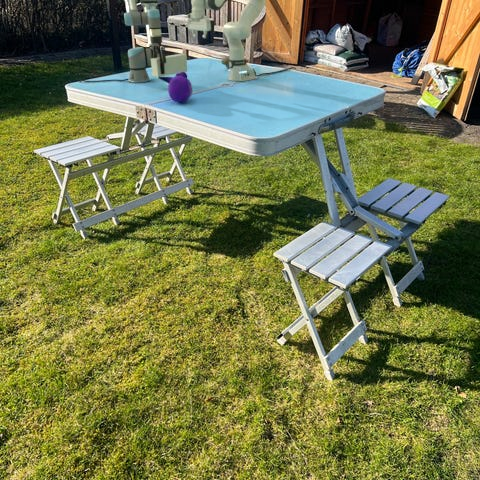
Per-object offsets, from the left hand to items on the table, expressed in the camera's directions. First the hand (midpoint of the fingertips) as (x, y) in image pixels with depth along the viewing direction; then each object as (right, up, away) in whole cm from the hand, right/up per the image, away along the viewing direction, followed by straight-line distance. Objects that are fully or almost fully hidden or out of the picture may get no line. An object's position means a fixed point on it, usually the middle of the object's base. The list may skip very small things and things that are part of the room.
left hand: (159, 73), depth 303 cm
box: (+6, +2, +6) cm, 9 cm away
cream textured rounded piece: (+49, +29, +70) cm, 90 cm away
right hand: (+26, +28, +8) cm, 39 cm away
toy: (+15, -24, -19) cm, 34 cm away
